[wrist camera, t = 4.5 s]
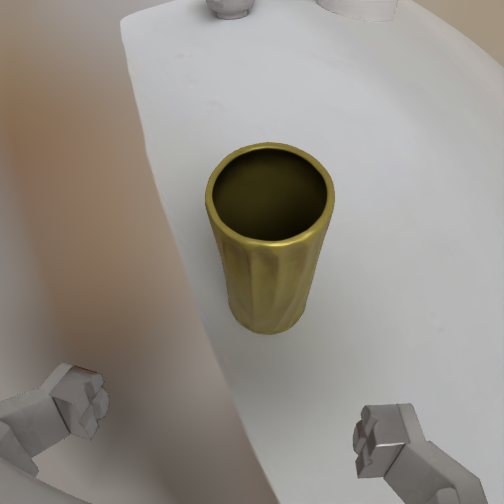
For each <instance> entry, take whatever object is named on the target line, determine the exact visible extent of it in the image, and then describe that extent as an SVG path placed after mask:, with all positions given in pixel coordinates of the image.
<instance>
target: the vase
mask: <svg viewBox="0 0 504 504" xmlns="http://www.w3.org/2000/svg"><path fill="white" fill-rule="evenodd" d="M334 202H335V191H334V185H333V181H332V179H331V176H330V175H329V173H328V172H327V170H326V169H325V168H324V167H323V166H322V165H321V163H320V162H318V161H317V160H316V159H315V158H314V157H313V156H311V155H310V154H308V153H306V152H304V151H303V150H300V149H298V148H296V147H293V146H290V145H287V144H282V143H273V142H267V143H258V144H254V145H250V146H246V147H243V148H240V149H238V150H236V151H234V152H233V153H231V154H229V155H228V156H227V157H225V158H224V159H223V160H222V161H221V163H220V164H219V165H218V166H217V167H216V168H215V170H214V171H213V172H212V174H211V176H210V178H209V181H208V184H207V188H206V193H205V206H206V210H207V213H208V217H209V220H210V224H211V227H212V230H213V233H214V236H215V239H216V243H217V246H218V250H219V253H220V256H221V260H222V264H223V268H224V273H225V277H226V284H227V291H228V296H229V305H230V309H231V311H232V313H233V315H234V317H235V318H236V320H237V321H238V322H239V323H240V324H241V325H243V326H244V327H246V328H247V329H249V330H251V331H252V332H255V333H259V334H268V335H270V334H276V333H280V332H283V331H285V330H287V329H289V328H291V327H292V326H293V325H294V324H295V323H296V322H297V321H298V320H299V318H300V317H301V315H302V314H303V312H304V309H305V306H306V300H307V297H308V294H309V290H310V287H311V283H312V279H313V276H314V273H315V269H316V265H317V261H318V258H319V254H320V251H321V248H322V244H323V241H324V238H325V235H326V232H327V229H328V226H329V223H330V220H331V217H332V213H333V209H334Z"/></svg>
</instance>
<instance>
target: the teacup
mask: <svg viewBox="0 0 504 504" xmlns="http://www.w3.org/2000/svg"><path fill="white" fill-rule="evenodd" d="M255 1H256V0H206V2H207V4H208V6H209V7H210V8H211V9H212V10H214V11H216V12H218V17H220V18H222V19H237V18H241V17H244V16H246V15H247V14H248V12H247V9H249V8H251V7H252V6H253V5H254V3H255Z"/></svg>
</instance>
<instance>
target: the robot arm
mask: <svg viewBox="0 0 504 504" xmlns="http://www.w3.org/2000/svg"><path fill="white" fill-rule="evenodd" d="M103 384H104V379H103V376H102V374H100V373H97V372H94V371H90V370H87V369H84V368H81V367H78V366H74V365H71V364H68V363H65V362H62V363H60V364H59V365H58V366H57V367H56V368H55V369H54V371H53V372H52V373H51V374H50V375H49V377H48V378H47V379H46V380H45V381H44V382H43V383H42V385H41V386H40V387H39V388H38V389H37V390H35V389H32V390H30V391H27V392H24V393H22V394H19V395H17V396H14V397H12V398H9V399H6V400H4V401H1V402H0V504H91V503H88V502H85V501H83V500H81V499H79V498H76V497H74V496H72V495H70V494H67V493H65V492H63V491H61V490H59V489H57V488H55V487H53V486H50V485H49V484H47V483H45V482H43V481H41V480H39V479H37V478H35V477H36V475H37V474H38V472H39V470H38V467H37V466H36V465H35V463H34V462H33V461H32V459H31V458H32V457H34V456H36V455H37V454H39V453H41V452H42V451H44V450H46V449H47V448H49V447H51V446H52V445H54V444H55V443H57V442H59V441H60V440H62V439H63V438H65V437H67V436H68V435H70V433H71V434H73V435H76V436H79V437H82V438H85V439H88V440H92V438H93V436H94V434H95V433H96V431H97V429H98V428H99V425H98V420H100V419H102V418H104V417H105V415H106V413H107V412H108V408H109V395H108V392H107V391H106V390H105V388H103V386H102V385H103ZM361 419H362V420H360V421H359V422H358V423H357V424H356V426H355V429H354V434H353V448H354V451H355V452H356V453H357V454H358V455H359V456H358V458H357V459H356V461H355V463H356V469H357V476H358V478H375V477H384V480H385V481H386V482H387V483H388V484H389V485H390V487H391V488H392V489H393V490H394V491H395V492H396V493H397V495H398V496H399V497H400V498H401V499H402V500H403V501H404V503H405V504H488V502H487V499H486V496H485V493H484V491H483V488H482V485H481V482H480V480H479V478H478V477H476V476H475V475H474V474H472V473H471V472H470V471H468V470H467V469H466V468H465V467H463V466H462V465H461V464H459V463H458V462H457V461H455V460H454V459H453V458H451V457H450V456H449V455H448V454H446V453H445V452H444V451H442V450H441V449H440V448H439V447H437V446H436V445H435V444H433V443H432V442H431V441H426V440H425V437H424V434H423V432H422V429H421V426H420V423H419V421H418V418H417V415H416V413H415V410H414V407H413V405H412V404H411V403H407V404H390V405H365V406H364V408H363V409H362V412H361Z"/></svg>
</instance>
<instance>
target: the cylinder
mask: <svg viewBox="0 0 504 504" xmlns="http://www.w3.org/2000/svg"><path fill="white" fill-rule="evenodd" d="M397 1H398V0H317V3H318V4H319V5H320V6H321V7H323V8H324V9H326V10H329V11H331V12H333V13H336V14H339V15H342V16H346V17H350V18H354V19H359V20H364V21H371V22H388V21H391V20H393V19H394V15H395V11H396V6H397Z"/></svg>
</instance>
